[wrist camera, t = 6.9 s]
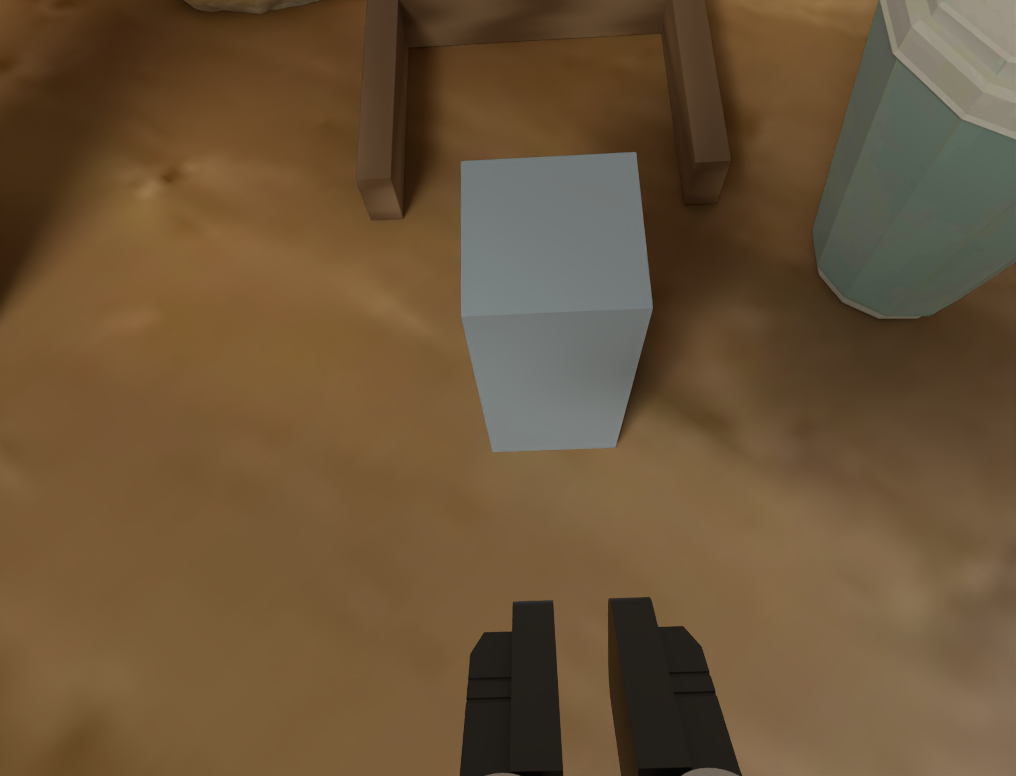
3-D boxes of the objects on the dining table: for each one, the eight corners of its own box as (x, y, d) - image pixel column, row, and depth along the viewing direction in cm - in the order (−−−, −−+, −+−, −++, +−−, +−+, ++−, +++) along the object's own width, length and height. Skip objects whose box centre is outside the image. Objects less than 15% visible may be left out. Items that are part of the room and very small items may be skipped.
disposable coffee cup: (743, 331, 33) (889, 59, 19) (782, 134, 36) (927, -215, 22) (1006, 390, 31) (1380, 142, 17) (1018, 178, 35) (1332, -167, 21)
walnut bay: (371, 220, 36) (356, 180, 33) (381, 27, 40) (368, -23, 37) (716, 203, 35) (731, 160, 32) (687, 9, 39) (698, -43, 37)
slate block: (492, 452, 31) (461, 316, 20) (490, 341, 33) (461, 161, 22) (615, 447, 31) (652, 308, 20) (606, 336, 33) (636, 152, 22)
